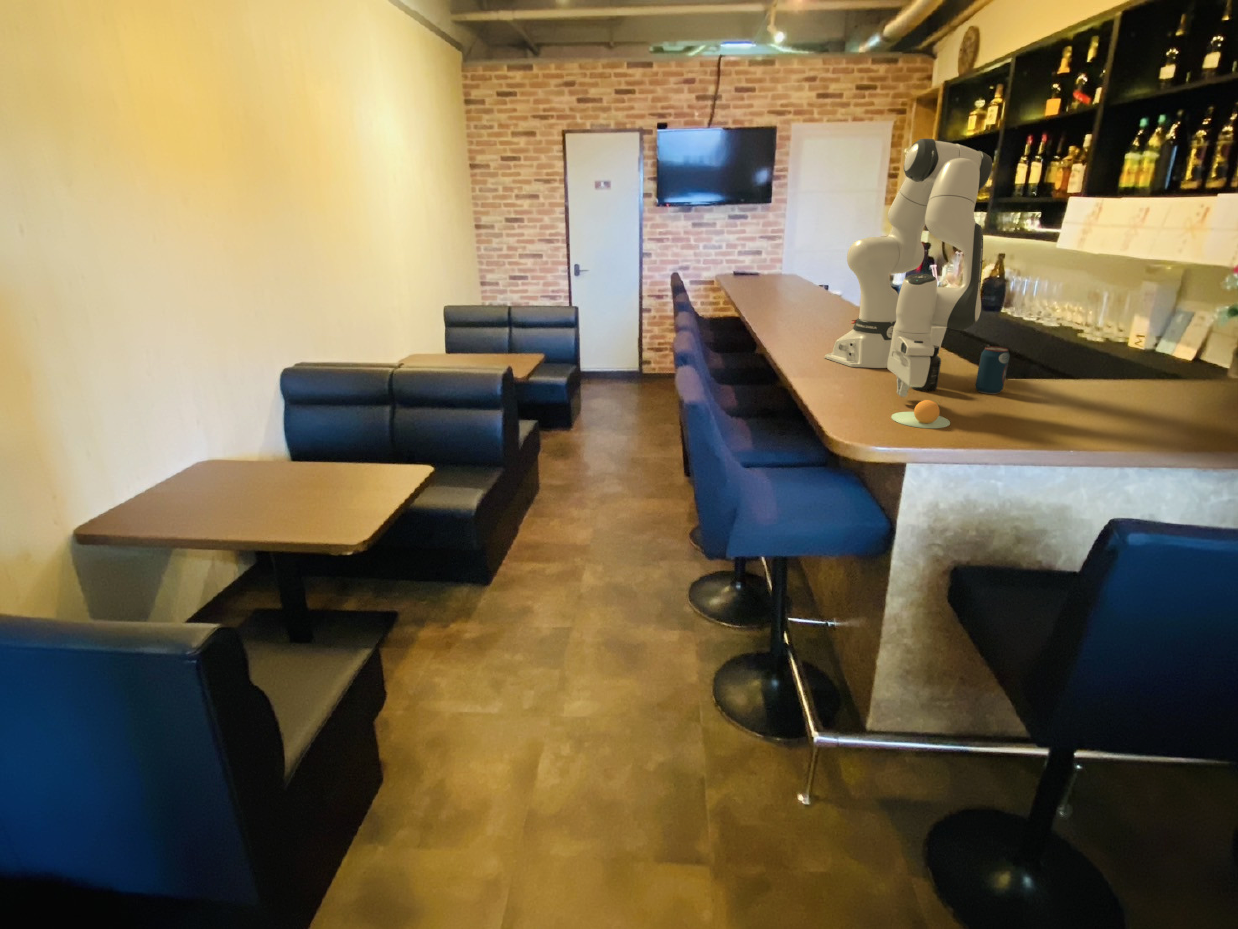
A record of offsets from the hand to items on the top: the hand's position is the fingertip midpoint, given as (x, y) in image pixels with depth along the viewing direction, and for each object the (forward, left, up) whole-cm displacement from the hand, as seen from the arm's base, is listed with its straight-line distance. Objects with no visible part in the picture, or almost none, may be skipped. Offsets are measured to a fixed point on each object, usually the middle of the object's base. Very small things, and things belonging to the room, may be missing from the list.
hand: (901, 395), depth 179 cm
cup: (-16, +28, -3) cm, 32 cm away
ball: (+14, -9, 0) cm, 17 cm away
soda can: (+4, +32, -3) cm, 32 cm away
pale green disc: (+12, -8, -2) cm, 14 cm away
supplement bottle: (-7, +19, -3) cm, 20 cm away
